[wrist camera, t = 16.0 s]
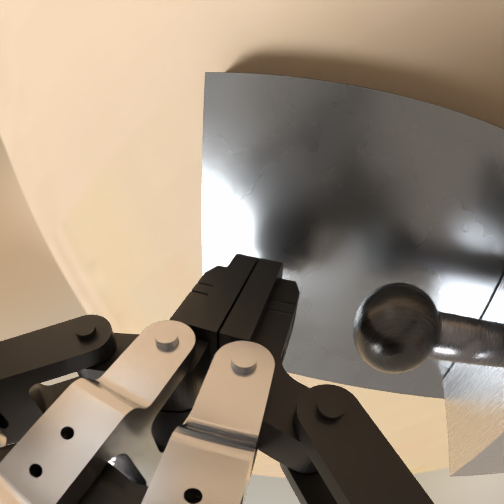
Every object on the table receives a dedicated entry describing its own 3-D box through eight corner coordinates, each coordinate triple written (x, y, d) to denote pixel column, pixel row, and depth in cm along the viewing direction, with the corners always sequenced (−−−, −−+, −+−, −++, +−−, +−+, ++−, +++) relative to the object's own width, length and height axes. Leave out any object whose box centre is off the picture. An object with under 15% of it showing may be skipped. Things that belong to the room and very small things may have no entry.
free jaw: (590, 214, 6) (661, 286, 2) (496, 386, 11) (511, 471, 7) (386, 139, 8) (421, 191, 4) (328, 362, 13) (306, 463, 9)
